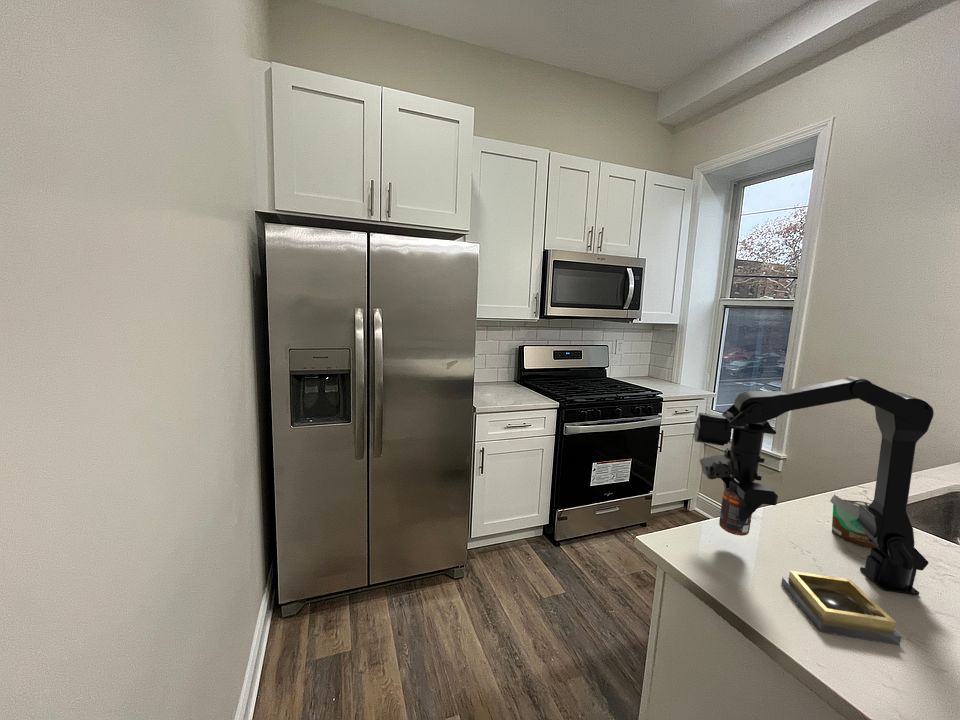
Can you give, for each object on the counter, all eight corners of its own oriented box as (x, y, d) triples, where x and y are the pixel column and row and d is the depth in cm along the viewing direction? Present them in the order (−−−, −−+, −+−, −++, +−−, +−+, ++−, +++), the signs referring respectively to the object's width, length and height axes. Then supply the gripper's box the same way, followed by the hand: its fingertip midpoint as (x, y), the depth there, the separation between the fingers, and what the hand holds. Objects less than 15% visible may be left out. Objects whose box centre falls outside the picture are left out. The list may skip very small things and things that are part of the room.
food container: (835, 543, 96) (842, 505, 94) (824, 530, 101) (831, 493, 100) (902, 557, 91) (911, 517, 90) (887, 542, 97) (895, 505, 95)
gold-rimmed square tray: (848, 593, 79) (851, 577, 78) (899, 645, 67) (904, 626, 66) (781, 583, 81) (784, 567, 80) (819, 631, 69) (823, 613, 68)
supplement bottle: (753, 539, 88) (761, 491, 86) (724, 534, 89) (731, 488, 87) (742, 524, 94) (748, 479, 92) (714, 520, 95) (720, 476, 93)
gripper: (692, 431, 99) (685, 490, 101) (723, 461, 81) (713, 531, 83) (741, 436, 97) (732, 495, 99) (784, 467, 79) (772, 539, 81)
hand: (735, 513), depth 91 cm, fingers closed on supplement bottle, 6 cm apart
